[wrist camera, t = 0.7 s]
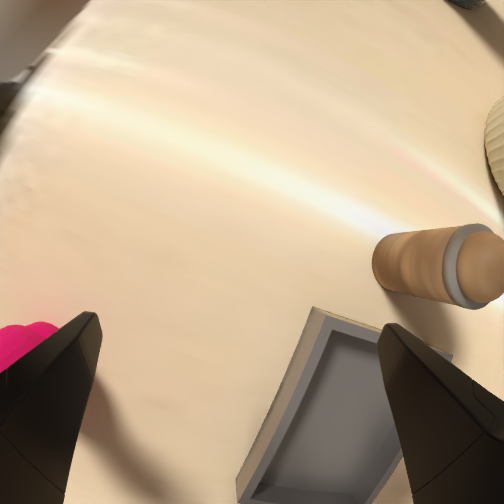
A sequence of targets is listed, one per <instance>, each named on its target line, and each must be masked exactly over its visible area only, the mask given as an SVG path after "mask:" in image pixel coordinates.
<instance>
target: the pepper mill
mask: <svg viewBox="0 0 504 504" xmlns="http://www.w3.org/2000/svg"><path fill="white" fill-rule="evenodd" d="M57 330H59V329H58V328H57V327H55V326H54V325H52V324H50V323H46V322H35V323H33V324H30V325H27V326H22V325H10V326H6V327H4V328H2V329H0V373H1V372H2V371H3V370H5V369H8V367H9V366H10V365H11V364H13V363H14V362H15V361H17V360H18V359H19V358H21V357H22V356H23V355H25V354H26V353H27V352H29V351H30V350H31V349H33V348H34V347H35V346H37V345H38V344H39V343H41V342H42V341H43V340H45V339H46V338H48V337H49V336H50V335H52V334H53V333H54V332H56V331H57Z"/></svg>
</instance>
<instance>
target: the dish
mask: <svg viewBox="0 0 504 504" xmlns="http://www.w3.org/2000/svg"><path fill="white" fill-rule="evenodd" d="M381 332H382V330H381V329H378V328H375V327H372V326H369V325H366V324H363V323H360V322H357V321H354V320H351V319H348V318H345V317H342V316H339V315H336V314H333V313H330V312H327V311H324V310H321V309H318V308H315V307H313V306H312V309H311V312H310V314H309V317H308V319H307V322H306V324H305V327H304V329H303V332H302V335H301V337H300V339H299V342H298V344H297V347H296V349H295V352H294V354H293V357H292V359H291V361H290V364H289V366H288V368H287V371H286V373H285V376H284V378H283V380H282V382H281V385H280V387H279V389H278V392H277V394H276V396H275V398H274V401H273V403H272V405H271V407H270V409H269V412H268V414H267V416H266V418H265V420H264V422H263V425H262V427H261V429H260V431H259V433H258V435H257V437H256V439H255V441H254V444H253V446H252V448H251V450H250V452H249V454H248V456H247V458H246V460H245V462H244V464H243V466H242V468H241V470H240V472H239V474H238V476H237V478H236V491H237V503H240V504H371V503H372V501H373V500H374V499H375V497H376V496H377V495H378V493H379V492H380V490H381V489H382V488H383V486H384V485H385V483H386V482H387V480H388V479H389V477H390V476H391V474H392V473H393V471H394V470H395V468H396V467H397V465H398V463H399V462H400V460H401V459H402V457H403V453H402V449H401V445H400V441H399V438H398V434H397V430H396V426H395V423H394V419H393V416H392V412H391V408H390V405H389V402H388V398H387V395H386V391H385V388H384V383H383V378H382V372H381V367H380V362H379V357H378V352H377V341H378V339H379V337H380V334H381ZM426 345H428V344H426ZM428 346H429V347H430V348H432V349H433V350H434V351H436V352H437V353H438V354H440V355H441V356H443V357H444V358H445V359H447V360H448V361H449V362H451V360H452V357H453V355H451V354H449V353H447V352H445V351H442V350H440V349H438V348H435V347H433V346H431V345H428Z"/></svg>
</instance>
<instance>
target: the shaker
mask: <svg viewBox="0 0 504 504" xmlns="http://www.w3.org/2000/svg"><path fill="white" fill-rule="evenodd" d="M372 269H373V273H374V276H375V278H376V280H377V281H378V283H379V284H380V285H381V286H382V287H384V288H385V289H387V290H390V291H395V292H399V293H404V294H408V295H413V296H417V297H421V298H426V299H430V300H435V301H439V302H444V303H448V304H453V305H457V306H460V307H463V308H467V309H472V310H476V309H480V308H483V307H484V306H486V305H487V304H488V303H489V302H490V301H493V300H495V299H497V298H499V297H500V296H501V295H502V294H503V293H504V240H503V239H502V238H501V237H499V236H498V235H496V234H494V233H493V232H492V230H491V229H489V228H488V227H487V226H485V225H482V224H468V225H464V226H458V227H449V228H440V229H431V230H422V231H413V232H404V233H395V234H390V235H387V236H386V237H384V238H383V239H382V240H381V241H380V242H379V243H378V244H377V246H376V248H375V250H374V253H373V257H372Z"/></svg>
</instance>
